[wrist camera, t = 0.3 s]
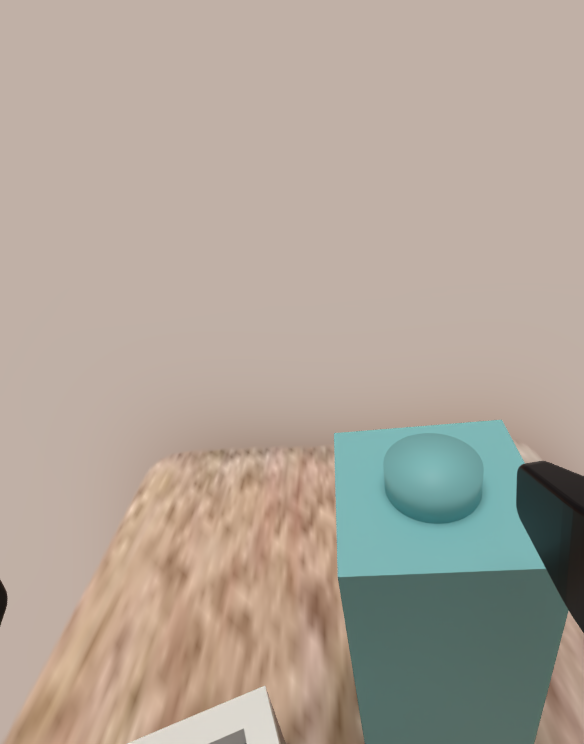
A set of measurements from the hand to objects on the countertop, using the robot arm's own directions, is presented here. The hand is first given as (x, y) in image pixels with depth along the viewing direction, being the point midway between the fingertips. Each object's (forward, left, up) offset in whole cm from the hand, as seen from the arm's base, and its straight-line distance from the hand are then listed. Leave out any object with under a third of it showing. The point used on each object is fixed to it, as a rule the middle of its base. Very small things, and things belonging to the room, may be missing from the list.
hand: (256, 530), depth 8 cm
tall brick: (+3, -4, -16) cm, 17 cm away
